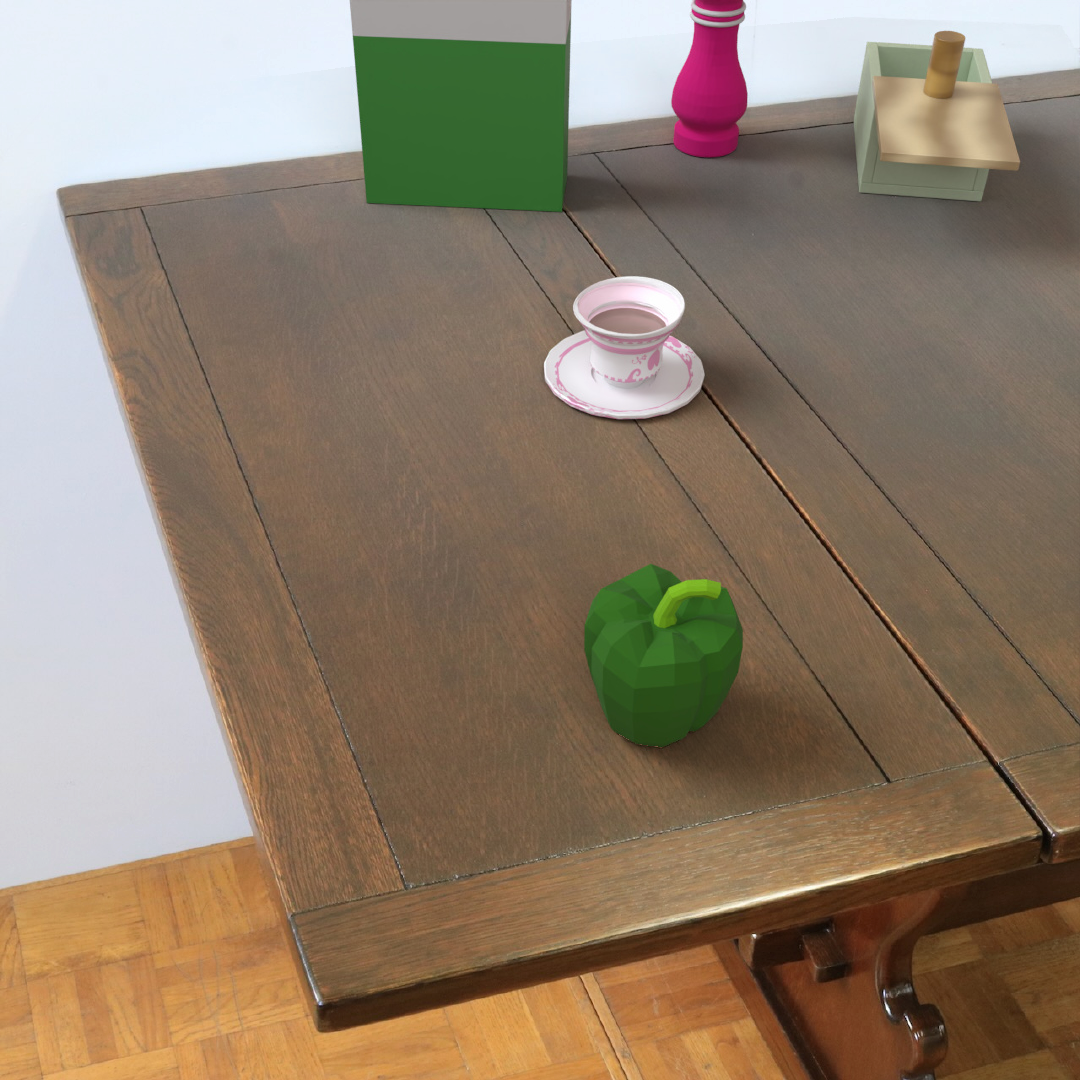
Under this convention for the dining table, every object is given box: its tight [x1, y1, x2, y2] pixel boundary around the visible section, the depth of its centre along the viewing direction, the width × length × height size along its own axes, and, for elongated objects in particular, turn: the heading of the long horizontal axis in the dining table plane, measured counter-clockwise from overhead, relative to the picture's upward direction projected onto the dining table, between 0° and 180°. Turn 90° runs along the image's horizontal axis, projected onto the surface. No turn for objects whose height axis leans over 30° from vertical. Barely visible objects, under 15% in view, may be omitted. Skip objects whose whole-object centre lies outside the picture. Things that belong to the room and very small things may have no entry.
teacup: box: [543, 275, 706, 420], centre depth 97 cm, size 12×12×6 cm
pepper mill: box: [670, 0, 749, 158], centre depth 123 cm, size 7×7×20 cm
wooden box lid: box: [872, 30, 1021, 172], centre depth 112 cm, size 11×16×6 cm
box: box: [853, 41, 993, 202], centre depth 125 cm, size 11×16×8 cm
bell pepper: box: [583, 563, 744, 748], centre depth 71 cm, size 8×8×10 cm
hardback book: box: [349, 0, 572, 213], centre depth 114 cm, size 18×7×24 cm, turn 85°
